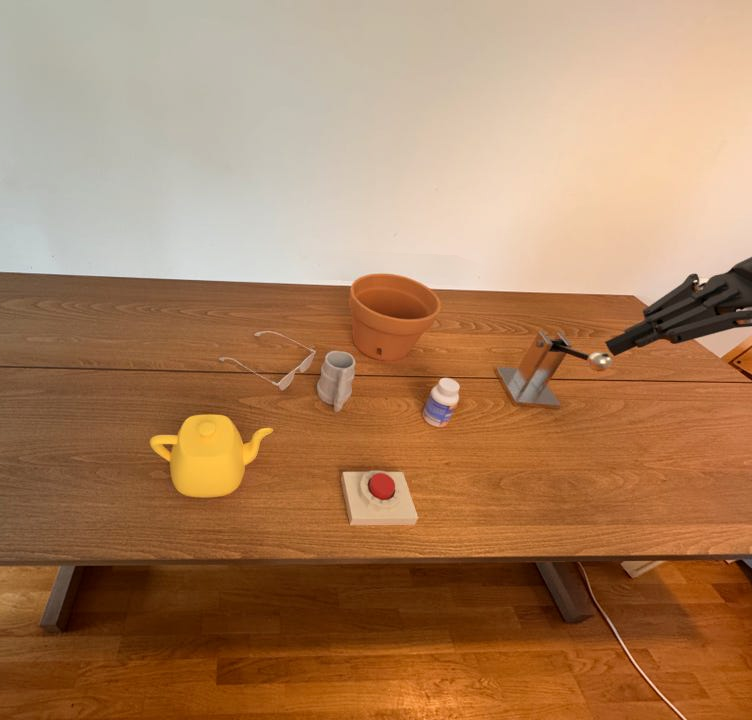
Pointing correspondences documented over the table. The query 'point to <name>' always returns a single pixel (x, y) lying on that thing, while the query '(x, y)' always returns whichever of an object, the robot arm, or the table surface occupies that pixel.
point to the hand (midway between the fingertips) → (609, 348)
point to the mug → (336, 378)
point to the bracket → (534, 374)
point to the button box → (377, 501)
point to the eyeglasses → (289, 377)
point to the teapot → (208, 455)
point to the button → (381, 486)
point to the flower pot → (390, 314)
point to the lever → (585, 356)
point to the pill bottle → (441, 402)
